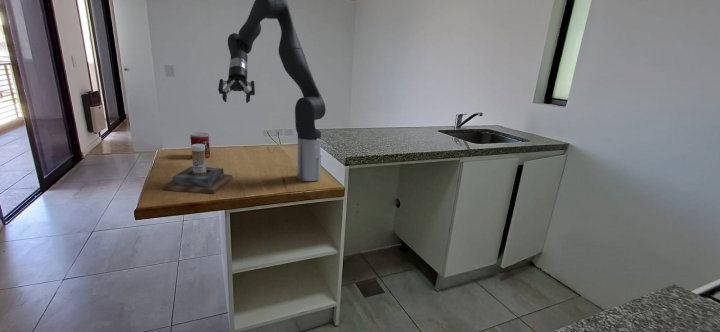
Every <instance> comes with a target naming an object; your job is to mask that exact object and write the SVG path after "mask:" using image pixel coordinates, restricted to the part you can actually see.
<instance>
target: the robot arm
mask: <svg viewBox="0 0 720 332" xmlns="http://www.w3.org/2000/svg"><path fill="white" fill-rule="evenodd" d="M291 14H292V13H291V11H290V7H289V4H288V1H287V0H254V2H253V4H252V6H251V9H250V12H249V15H248V16H247V19H246V21H245V22H244V24H243V25H242V26H241V28H240V29H239V30H238V33H235V32H233V33H230V34H229V36H228V38H227V47H228V50H229V55H230V63H229V66H228V76H227V80H223V79H222V78H219V83H218V87H217V91H218V93H219V95H222V100H223V102H224V103H227V99H228V94H230V93H232V92H243V93H244V94H245V102H246V103H247V104H248V103H250V101H251V96H255V95H256V93H255V92H256V89H255V88H256V87H255V86H256V85H255V81H254V80H251V81H248V72H249V71H248V59H249V58H248V54H250V53H251V52H252V49H253V44H254V42H255V40H256V39H257V38H259V36H260V34H261V32H262V25H261V22H262V21H263V20H265V19H267V20H268V19H269V20H272V19H273V20H277V21H278V24H279V27H280V31H281V32H280V33H281V36H280V41H279V43H278V55H279V58H280V61H281V63H282V67H283V68H284V71H285V72H286V73H287V74H288V76H289V77H290V79H292V81H293V82H294V83H295V84H296V85H297V86H298V88H299V90H300V91H301V93H302V96H303V97H300V98H299V99H298V100H297V101H296V102H295V105H294V106H295V107H294V108H295V109H294V116H295V117H294V118H295V119H294V121H295V130H296V133H297V158H296V159H297V160H296V161H297V165H296V167H297V168H296V169H297V170H296V171H297V173H296V174H297V175H296V177H297V178H296V179H298V180H299V181H301V182H302V181H303V182H319V181H320V178H321V174H322V173H321V172H322V169H321V168H322V155H321V144H322V132H321V130H320V129H317V128H316V120H320V119H323V118H324V116H325V115H326V110H327V108H326V104H325V101H324V99H323V97H322V94H321V92H320V90H319V88H318V87H317V85H316V82H315V80H314V77H313V75H312V72H311V70H310V67H309V65H308V62H307V58H306V56H305V53H304V51H303V47H302V46H301V43H300V40H299V37H298V33H297V31H296V29H295V26H294V22H293V18H292V15H291ZM248 86H249V88H250V89H251V90H249V88H248ZM224 87H225V88H224Z"/></svg>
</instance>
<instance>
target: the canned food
mask: <svg viewBox="0 0 720 332" xmlns="http://www.w3.org/2000/svg"><path fill="white" fill-rule="evenodd" d="M209 135H210V134H209V133H207V132H201V131H200V132H199V131H198V132H192V133H190V135H189V136H190V146H191V145H193V144H204V145H205V158H206V159H209V158H210V157H211V150H210V148H211V147H210V136H209Z"/></svg>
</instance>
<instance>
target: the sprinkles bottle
mask: <svg viewBox="0 0 720 332" xmlns="http://www.w3.org/2000/svg"><path fill="white" fill-rule="evenodd" d="M190 147H191V148H190V150H191V157H192V166H193V172H194V175H198V176H204V175H206V167H207V162H206V161H207V158H205V145H204V144H193V145H191V144H190Z"/></svg>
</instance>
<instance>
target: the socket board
mask: <svg viewBox="0 0 720 332" xmlns="http://www.w3.org/2000/svg"><path fill="white" fill-rule="evenodd" d="M224 171H225V170H224V168H222V167H220V168H219V167H210V166H209V167H208V166H206V175H204V176H198V175H194V172H193V165H192V166H191V165H190V166H189V167H187V168H186V169H184V170H182V171H180V172H178V173H176V174H175V175H173V176H172V180H171V181H168V182H166V184H164V185H163V186H162V187H163V190H164V191H175V192H176V191H177V192H188V193H190V192H191V193H203V194H204V193H205V194H215V193H217V192H218V191H219V190H220V189H222V188H223V187H224V186H225V185H226V184H228V183H229V182H230V181H232V180H233V178H234V177H233V174H225V172H224Z"/></svg>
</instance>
